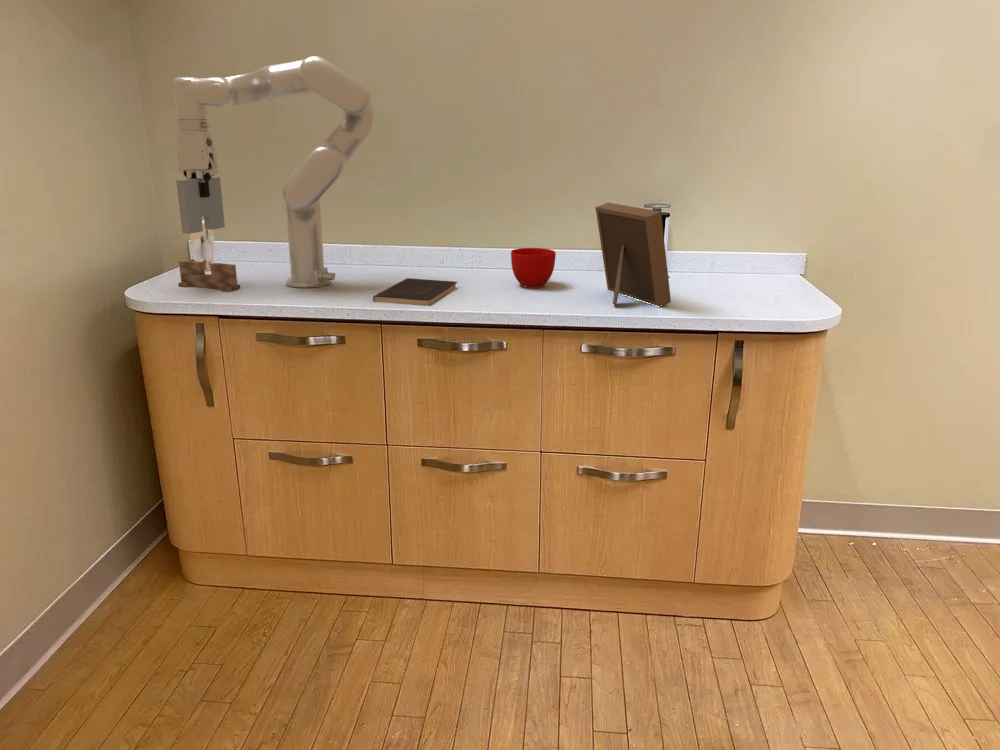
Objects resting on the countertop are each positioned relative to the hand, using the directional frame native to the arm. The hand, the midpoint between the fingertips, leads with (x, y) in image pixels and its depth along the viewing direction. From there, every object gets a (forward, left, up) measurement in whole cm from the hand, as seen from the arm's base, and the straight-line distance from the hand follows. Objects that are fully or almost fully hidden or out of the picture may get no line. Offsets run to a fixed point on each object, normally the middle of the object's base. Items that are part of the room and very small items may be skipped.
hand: (200, 196), depth 210 cm
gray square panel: (0, 0, -9) cm, 9 cm away
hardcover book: (-58, -14, -26) cm, 65 cm away
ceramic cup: (-84, -39, -26) cm, 96 cm away
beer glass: (+19, -20, -26) cm, 38 cm away
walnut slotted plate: (0, +1, -25) cm, 25 cm away
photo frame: (-113, -29, -26) cm, 120 cm away
